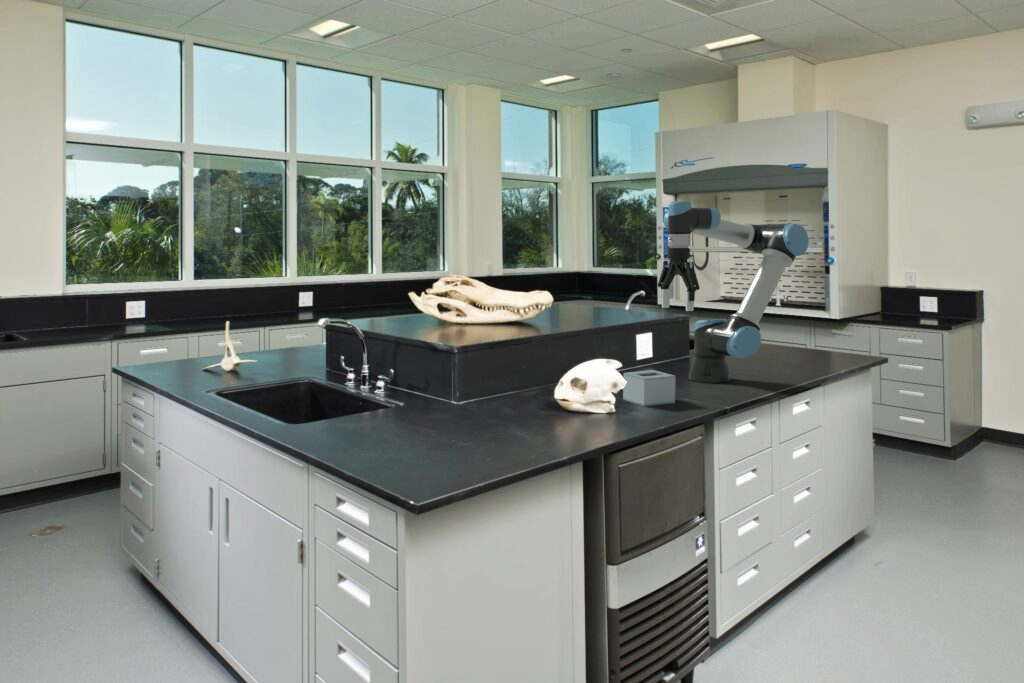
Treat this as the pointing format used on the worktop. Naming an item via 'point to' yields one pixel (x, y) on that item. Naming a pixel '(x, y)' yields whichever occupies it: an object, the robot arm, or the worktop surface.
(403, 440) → the worktop surface
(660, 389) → the grey square hollow box
